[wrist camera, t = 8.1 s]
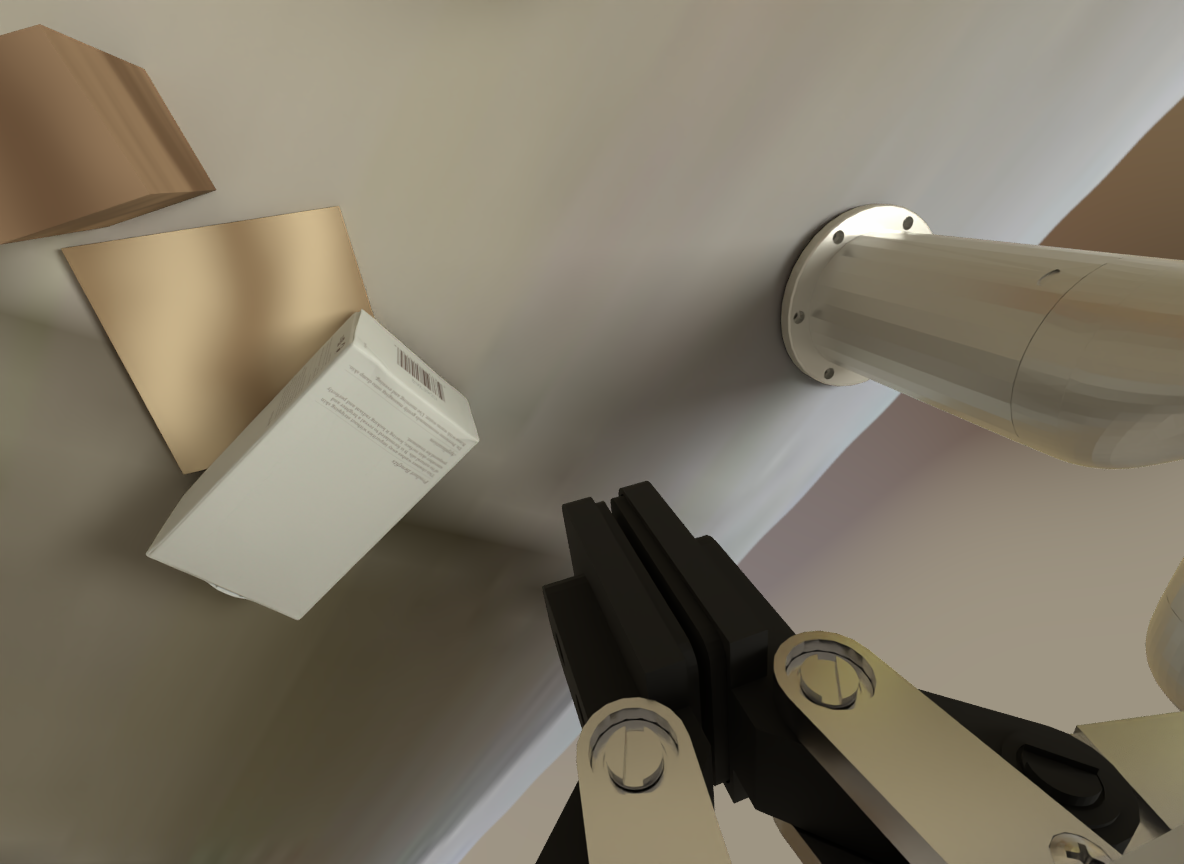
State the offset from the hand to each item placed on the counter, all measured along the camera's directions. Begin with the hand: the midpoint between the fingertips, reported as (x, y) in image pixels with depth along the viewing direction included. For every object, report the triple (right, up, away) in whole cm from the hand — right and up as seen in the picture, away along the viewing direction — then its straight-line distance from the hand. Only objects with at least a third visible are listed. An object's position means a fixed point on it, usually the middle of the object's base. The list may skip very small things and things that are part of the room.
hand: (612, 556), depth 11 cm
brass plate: (-18, +7, +19) cm, 27 cm away
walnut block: (-21, +15, +14) cm, 29 cm away
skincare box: (-9, +5, +18) cm, 21 cm away
